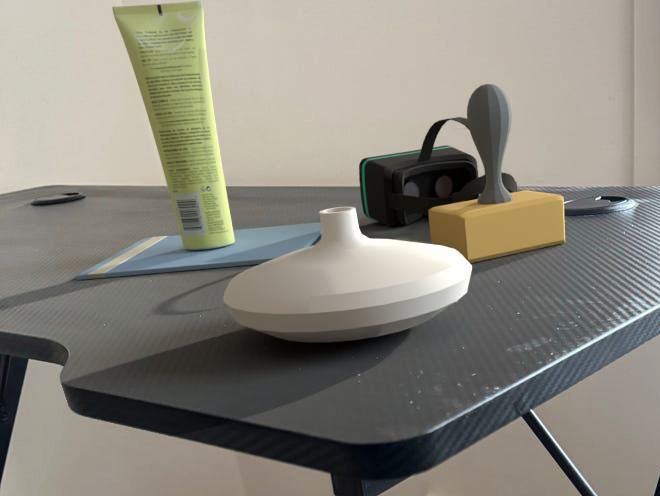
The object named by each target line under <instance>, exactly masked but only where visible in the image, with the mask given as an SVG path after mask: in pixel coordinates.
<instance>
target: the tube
mask: <svg viewBox="0 0 660 496" xmlns="http://www.w3.org/2000/svg"><path fill="white" fill-rule="evenodd" d="M111 8H112V14H113V17H114V19H115V23H116V25H117V28H118V30H119V33H120V35H121V38H122V41H123V43H124V47H125V49H126V52H127V55H128V58H129V61H130V63H131V64H130V65H131V67H132V70H133V73H134V76H135V79H136V82H137V85H138V89H139V92H140V96H141V99H142V102H143V105H144V108H145V112H146V115H147V118H148V122H149V125H150V128H151V132H152V134H153V138H154V142H155V146H156V150H157V152H158V157H159V160H160V164H161V168H162V171H163V173H164V178H165V181H166V185H167V189H168V193H169V198H170V200H171V204H172V209H173V211H174V217H175V220H176V224H177V229H178V232H179V235H180V236H181V240H182V243H183V247H184V248H185V249H187V250H203V249H212V248H218V247H223V246H227V245H230V244H233V243H234V242H235V239H234V233H233V230H234V228H233V222H232V217H231V211H230V205H229V199H228V192H227V187H226V180H225V175H224V169H223V168H224V167H223V163H222V156H221V149H220V143H219V135H218V130H217V129H218V128H217V123H216V116H215V109H214V101H213V96H212V87H211V80H210V72H209V62H208V53H207V44H206V42H207V41H206V33H205V14H204V11H205V10H204V5H203V1H202V0H191V1H181V2H169V3H166V2H165V3H153V4H140V5H139V4H138V5H137V4H136V5H120V6H119V5H117V6H112V7H111Z"/></svg>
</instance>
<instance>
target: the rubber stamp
mask: <svg viewBox="0 0 660 496" xmlns="http://www.w3.org/2000/svg"><path fill="white" fill-rule="evenodd" d="M466 118H467V121H468V126H469V129H468V131H469V133H470V136H471V139H472V141H473V143H474V146H475V148H476V151H477V152H478V155H479V157H480V160H481V163H482V167H483V170H484V169H485V171H484V175H485V174H486V186H485V189H484V191H483V192H482V194H479V198H478V199H475V200H470V201H464V202H459V203H454V204H448V205H443V206H437V207H433V208H431V209H429V215H428V222H429V232H430V241H431V243H430V244H433V245H441V246H445V247H449V248H452V249H455V250H457V251H458V252H459V253H460V254H462V256H463V257H464V258H465V259H466V260H467V261H468V262H469V263H470V264H474V263H477V262H482V261H486V260H490V259H497V258H501V257H505V256H509V255H515V254H519V253H525V252H529V251H533V250H538V249H542V248H548V247H552V246H556V245H561V244H565V243H566V230H565V229H566V226H565V225H566V224H565V223H566V222H565V200H564V199H565V198H564V196H562V195H561V194H556V193H548V192H541V191H535V190H527V189H526V190H525V189H524V190H520V191H517V192H513V193H509V191H508V190H507V189H506V188H505V187H504V185H503V183H502V178H501V172H502V167H503V161H504V156H505V153H506V149H507V145H508V143H509V142H508V141H509V137H510V133H511V128H512V119H513V117H512V107H511V102H510V100H509V98H508V96H507V93H506V92H505V91H504V90H503V89H502V88H501V87H500V86H498V85H497V84H496V85H495V84H494V83H485V84H482V85H479V86H478V87H477V88H475V90H474V91H473V92H472V93H471V95H470V97H469V99H468V102H467V106H466Z"/></svg>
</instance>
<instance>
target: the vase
mask: <svg viewBox="0 0 660 496" xmlns="http://www.w3.org/2000/svg"><path fill="white" fill-rule="evenodd" d="M318 215H319V221H320V223H321V230H322V234H321V235H320V237H321V238H320V239H319V241H317V243H316V244H314V245H311V246H310V247H306V248H303V249H300V250H297V251H293V252H291V253H288V254H285V255H283V256H280V257H278V258H275V259H273V260H270V261H267V262H265V263H262V264H256V265H255V266H252V267H250V268H248V269H246V270H244V271H242V272H240V273H239V272H238V273H237V274H236V275H235V276H234V277H233V278H232V279H231V280H229V282H228V285H227V287H226V288H225V290H224V293H223V298H222V300H223V304H224V305H225V307H226V309H227V311H228V312H229V315H230V316H231V318H232V319H233V321H235V322H236V323H238V324H239V325H241V326H242V327H245V328H248V329H251V330H254V331H256V332H259V333H263V334H266V335H268V336H270V337H271V336H272V337H273V338H277V339H281V340H285V341H289V342H299V343H335V342H336V343H337V342H350V341H358V340H365V339H370V338H377V337H381V336H387V335H391V334H395V333H399V332H403V331H405V330H408V329H411V328H414V327H415V328H416V327H417V326H420V325H421V324H424V323H426V322H428V321H430V320H431V319H433V318H435V317H436V316H438V315H439V314H440V313H442V312H443V311H445V310H446V309H447V308H449V307H450V306H452V305H454V304H455V303H456V302H458V301H459V300H460V299H462V298H463V296H465V295H466V294H467V293H468V291H469V285H470V280H471V276H472V270H473V266H472V263H469V262H468V261H467V260H466V259H465V258H464V257H463V256H462V254H460V253H459V252H458V251H457V250H455V249H452V248H449V247H445V246H441V245H433V244H432V243H425V242H424V243H423V242H417V241H409V240H408V241H407V240H401V239H392V238H369V237H368V236H366V235H364V234H363V233H362V232H361V229H360V227H359V222H358V221H359V220H358V216H357V210H356V207H355V206H338V207H337V206H336V207H331V208H325V209H322V210H319V211H318Z"/></svg>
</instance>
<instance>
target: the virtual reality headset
mask: <svg viewBox="0 0 660 496" xmlns="http://www.w3.org/2000/svg"><path fill="white" fill-rule="evenodd" d="M449 121H454V122H457V123H459V124H461V125H463V126H465V128H466V129H467V130H469V126H468V121H467V117H462V116H456V117H451V118H450V117H449V118H444V119H440V120H437V121H435V122H434V123H433V124H432V125H431V126H430V127H429V129H428V130H427V133H426V134H425V136H424V139H423V142H422V145H421V147H420V149H413V150H408V151H407V150H406V151H402V152H396V153H388V154H382V155H376V156H368V157H364V158H362V159H361V160H360V162H359V165H358V176H359V178H358V179H359V190H360V191H359V192H360V200H361V206H362V212H363V214H364V216H366V218H368V219H370V220H374V221H377V222H379V223H381V224H384V225H386V226H387V227H390V226H394V225H396V224H399V223H401V224H402V225H403V226H405V225H406V226H407V225H410V224H412V223H413V222H416V221H418V220H419V219H421V218H423V217H425V216H426V217H427V216H429V209H431V208H433V207H437V206H443V205H448V204H454V203H459V202H464V201H470V200H475V199H478V198H479V197H480V195H481V194H482V192H483V191H484V189H485V186H486V174H485V173H484V174H483V175H481V176H479V169H478V161H477V159H476V157H475V156H473V155H472V154H469V153H467V152H465V151H462V150H460V149H459V148H455V147H453V146H452V145H448V144H447V145H439V146H435V144H436V143H435V142H436V140H437V137H438V135H439V133H440V132H441V129H442V128H443V126H444V125H446V123H447V122H449ZM483 170H484V171H483V172H485V169H484V168H483ZM501 178H502V183H503V185H504V187H505V188H506V189H507V190H508V191H509V193H513V192H518V183H517V181H516V179H515V178H514V176H512V174H510V173H507V172H503V171H501Z"/></svg>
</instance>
